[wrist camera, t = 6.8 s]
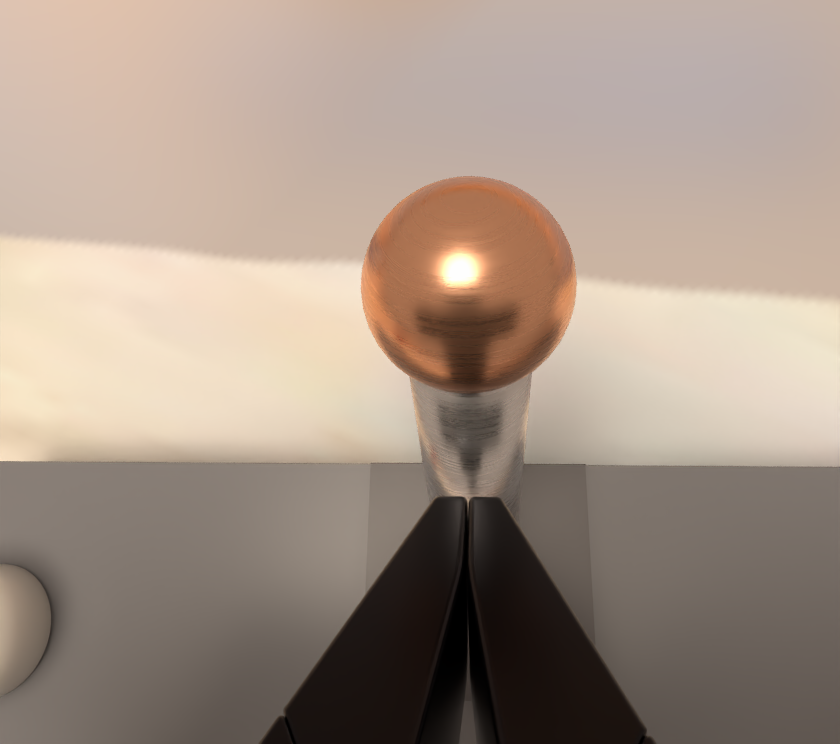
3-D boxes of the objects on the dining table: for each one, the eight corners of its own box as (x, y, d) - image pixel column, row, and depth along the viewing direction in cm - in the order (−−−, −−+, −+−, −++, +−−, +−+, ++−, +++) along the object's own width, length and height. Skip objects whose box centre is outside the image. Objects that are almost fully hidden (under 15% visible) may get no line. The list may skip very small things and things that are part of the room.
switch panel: (1083, 832, 14) (1292, 934, 10) (-19, 760, 17) (-154, 821, 13) (999, 483, 16) (1148, 468, 12) (36, 474, 19) (-68, 460, 15)
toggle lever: (537, 620, 12) (607, 271, 5) (415, 617, 12) (324, 278, 5) (530, 509, 13) (575, 128, 6) (422, 507, 13) (359, 139, 7)
